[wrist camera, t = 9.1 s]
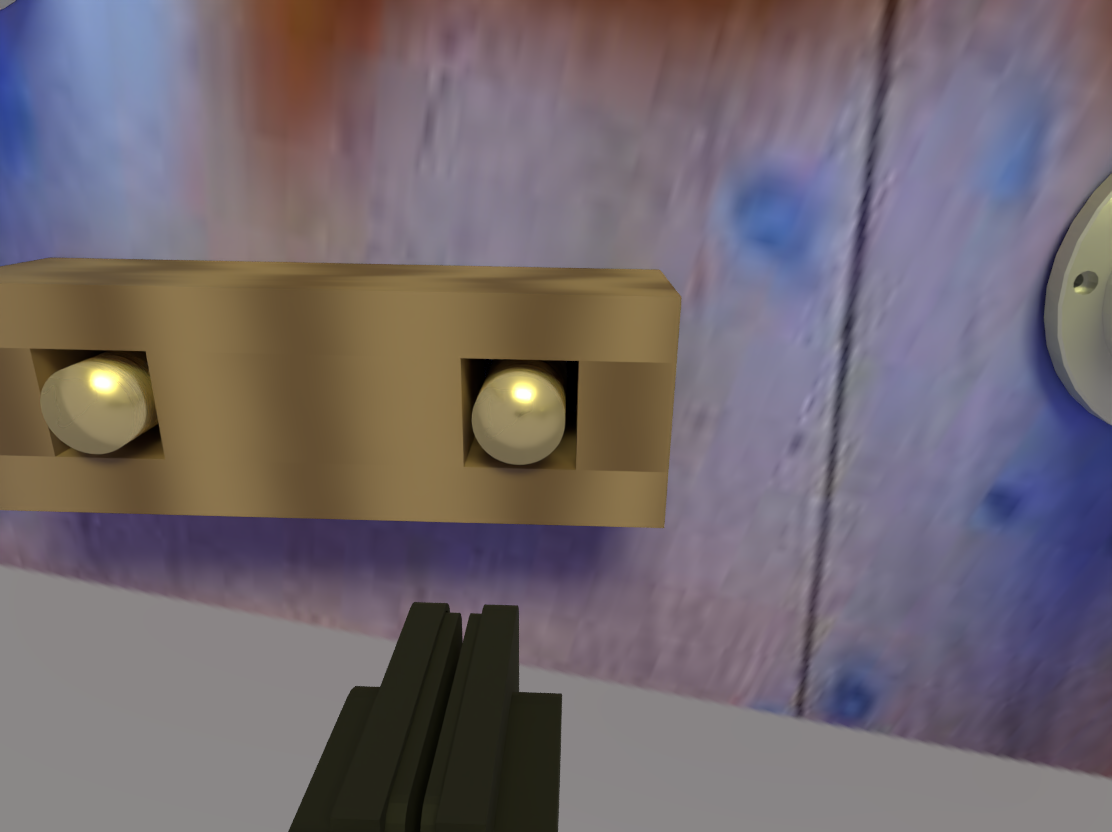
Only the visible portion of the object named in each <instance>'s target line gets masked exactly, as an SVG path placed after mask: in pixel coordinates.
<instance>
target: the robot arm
mask: <svg viewBox="0 0 1112 832" xmlns="http://www.w3.org/2000/svg"><path fill="white" fill-rule="evenodd" d="M1044 324H1045V334H1046V343H1047V348H1048V351H1049V354H1050V357H1051V360H1052V363H1053V366H1054V369H1055V372H1056V373H1057V375H1058V377H1059V378H1060V380H1061V381H1062V383H1063V384H1064V386H1065V387H1066V389H1067V391H1068V392H1069V394H1070V395H1071V396H1072V397H1073V398H1074V399H1075V400H1076V401H1077V402H1078V403H1080V404H1081V405H1082V406H1083V407H1084V408H1085V409H1086V410H1087V411H1088V412H1089V413H1091V414H1093V415H1094V416H1096V417H1098V418H1099V419H1101V420H1103V421H1105V422H1106V423H1108V424H1110V425H1111V426H1112V173H1111V174H1110V175H1109V177H1108V178H1107V179H1106V180H1105V181H1104V182H1103V183H1102V184H1101V185H1100V186H1099V187H1098V188H1097V189H1096V190H1095V191H1094V192H1093V194H1092V195H1091V196H1090V198H1089V199H1088V201H1087V202H1086V204H1085V205H1084V206H1083V208H1082V209H1081V211H1080V212H1079V213H1078V215H1077V216H1076V218H1075V219H1074V221H1073V222H1072V224H1071V226H1070V228H1069V230H1068V232H1067V234H1066V236H1065V238H1064V240H1063V242H1062V244H1061V246H1060V248H1059V250H1058V252H1057V254H1056V257H1055V261H1054V264H1053V268H1052V271H1051V274H1050V278H1049V281H1048V285H1047V290H1046V300H1045V310H1044ZM561 715H562V694H555V693H529V692H528V693H527V692H519V608H518V606H512V605H484V607H483V610H482V614H474V613H471V614H470V616H469V620H468V624H467V628H466V632H465V636H464V640H463V642H462V617H461V614H460V613H450V608H449V605H448V603H423V602H414V603H413V604H412V606H411V608H410V611H409V613H408V616H407V618H406V621H405V624H404V626H403V629H402V631H401V634H400V637H399V639H398V642H397V644H396V647H395V650H394V652H393V655H392V658H391V660H390V663H389V666H388V668H387V671H386V673H385V676H384V678H383V681H382V684H381V686H380V687H365V686H355V687H354V688H353V689H352V690H351V691H350V693H349V695H348V697H347V699H346V701H345V704H344V706H343V708H342V710H341V713H340V715H339V717H338V719H337V722H336V724H335V726H334V729H333V731H332V733H331V736H330V738H329V740H328V742H327V745H326V747H325V749H324V752H323V754H322V756H321V758H320V761H319V763H318V765H317V768H316V770H315V772H314V774H313V777H312V779H311V781H310V783H309V786H308V788H307V790H306V793H305V795H304V797H303V799H302V802H301V804H300V806H299V808H298V811H297V813H296V815H295V818H294V820H293V823H292V824H291V827H290V829H289V831H288V832H558V816H559V787H560V755H561Z"/></svg>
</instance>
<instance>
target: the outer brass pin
mask: <svg viewBox="0 0 1112 832" xmlns="http://www.w3.org/2000/svg"><path fill="white" fill-rule="evenodd" d="M40 403H41V410H42V414H43V417H44V419H45V421H46V423H47V425H48V426H49V428H50V429H51V431H52V432H53V433H54V434H55V435H56V436H57V437H58V438H59V439H60V440H61V441H62V442H64V443H65V444H67V445H68V446H70V447H72V448H74V449H76V450H78V451H81V452H84V453H89V454H105V453H110V452H113V451H115V450H117V449H119V448H120V447H122V446H123V445H125V444H127V443H128V442H130V441H131V440H133V439H135V438H136V437H138V436H140V435H141V434H143V433H144V432H146V431H148V430H149V429H151V428H152V427H154V426H156V425H157V424H159V423H158V417H157V411H156V406H155V400H154V395H153V389H152V384H151V378H150V373H149V367H148V362H147V356H146V351H121V350H109V351H106V352H104V353H101V354H99V355H96V356H94V357H91V358H89V359H86V360H84V361H81V362H79V363H76V364H74V365H71V366H69V367H66V368H64V369H61V370H59V371H57V372H55V373H54V374H53V375H51V376H50V377H49V378H48V379H47V381H46V382H45V384H44V386H43V388H42V392H41V398H40Z"/></svg>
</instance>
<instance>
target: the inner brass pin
mask: <svg viewBox="0 0 1112 832" xmlns="http://www.w3.org/2000/svg"><path fill="white" fill-rule="evenodd" d="M566 389H567V364H566V361H564V360H520V359H493V362H492V364H491V366H490V369H489V371H488V374H487V376H486V378H485V381H484V383H483V386H482V388H481V390H480V393H479V395H478V397H477V400H476V402H475V405H474V408H473V412H472V427H473V432H474V434H475V437H476V439H477V441H478V443H479V444H480V445H481V447H482V448H483V449H484V450H485V451H486V452H487V453H488V454H489V455H491V456H492V457H494V458H495V459H498V460H500V461H502V462H505V463H509V464H516V465H525V464H531V463H534V462H537V461H539V460H542V459H543V458H545V457H547V456H548V455H549V454H550V453H552V452H553V451H554V450H555V448H556V447H557V446H558V444H559V443H560V441H561V439H562V436H563V433H564V429H565V413H566Z"/></svg>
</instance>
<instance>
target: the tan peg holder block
mask: <svg viewBox="0 0 1112 832" xmlns="http://www.w3.org/2000/svg"><path fill="white" fill-rule="evenodd" d="M680 310H681V296H680V295H679V293H678V292H677V291H676V290H675V288H674V287H673V286H672V285H671V283H670V282H669V281H668V280H667V278H666V277H665V276H664V274H663V273H662V272H661V271H660V270H642V269H592V268H542V267H492V266H443V265H393V264H343V263H293V262H243V261H194V260H144V259H94V258H45V259H39V260H34V261H28V262H22V263H17V264H11V265H6V266H0V510H18V511H55V512H92V513H129V514H166V515H203V516H240V517H277V518H314V519H351V520H388V521H425V522H462V523H499V524H536V525H573V526H610V527H647V528H664V523H665V509H666V496H667V483H668V470H669V456H670V443H671V430H672V416H673V403H674V390H675V376H676V363H677V350H678V337H679V323H680ZM109 350H121V351H146V356H147V362H148V367H149V373H150V378H151V384H152V389H153V395H154V400H155V406H156V411H157V417H158V423H159V424H157V425H156V426H154V427H152V428H151V429H149V430H148V431H146V432H144V433H143V434H141V435H140V436H138V437H136V438H135V439H133V440H131V441H130V442H128V443H127V444H125V445H123V446H122V447H120V448H119V449H117V450H115V451H113V452H110V453H105V454H89V453H84V452H81V451H78V450H76V449H74V448H72V447H70V446H68V445H67V444H65V443H64V442H62V441H61V440H60V439H59V438H58V437H57V436H56V435H55V434H54V433H53V432H52V431H51V429H50V428H49V426H48V425H47V423H46V421H45V419H44V417H43V414H42V410H41V403H40V398H41V392H42V388H43V386H44V384H45V382H46V381H47V379H48V378H49V377H50V376H51V375H53V374H54V373H55V372H57V371H59V370H61V369H64V368H66V367H69V366H71V365H74V364H76V363H79V362H81V361H84V360H86V359H89V358H91V357H94V356H96V355H99V354H101V353H104V352H106V351H109ZM484 359H520V360H564V361H577V394H576V412H570V411H566V413H565V429H564V433H563V436H562V439H561V441H560V443H559V444H558V446H557V447H556V448H555V450H554V451H553V452H552V453H550V454H549V455H548V456H547V457H545V458H543V459H542V460H539V461H537V462H534V463H531V464H525V465H516V464H509V463H505V462H502V461H500V460H498V459H495V458H494V457H492V456H491V455H489V454H488V453H487V452H486V451H485V450H484V449H483V448H482V447H481V445H480V444H479V443H478V441H477V439H476V437H475V434H474V432H473V427H472V412H473V408H474V405H475V402H476V400H477V397H478V395H479V393H480V390H481V388H482V386H483V383H484Z"/></svg>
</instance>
